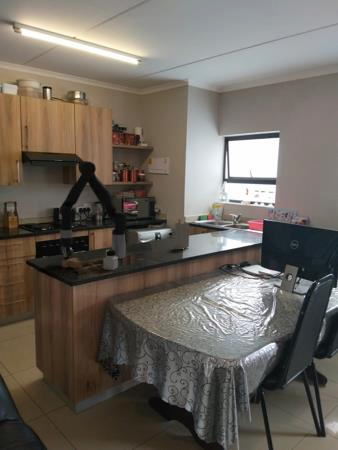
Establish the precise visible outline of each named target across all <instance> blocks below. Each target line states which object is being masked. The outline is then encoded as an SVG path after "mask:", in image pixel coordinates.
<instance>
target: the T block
mask: <svg viewBox="0 0 338 450" xmlns="http://www.w3.org/2000/svg"><path fill="white" fill-rule="evenodd" d="M61 266H62V268H66V269H67V268H71V269H76V266H81V267H83V263H82V261H81V260H80V259H79V258H78V257H73V258H69V259H67V260H63V259H62V260H61Z"/></svg>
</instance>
